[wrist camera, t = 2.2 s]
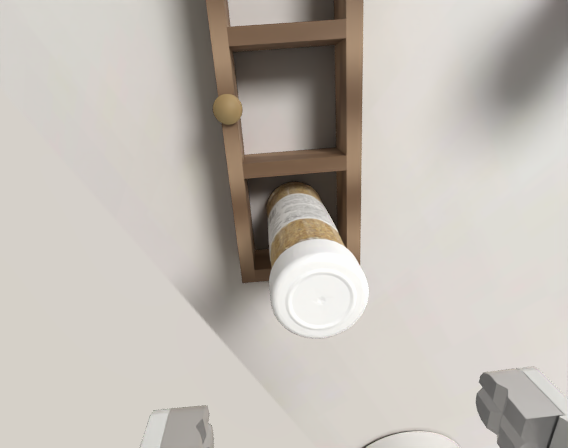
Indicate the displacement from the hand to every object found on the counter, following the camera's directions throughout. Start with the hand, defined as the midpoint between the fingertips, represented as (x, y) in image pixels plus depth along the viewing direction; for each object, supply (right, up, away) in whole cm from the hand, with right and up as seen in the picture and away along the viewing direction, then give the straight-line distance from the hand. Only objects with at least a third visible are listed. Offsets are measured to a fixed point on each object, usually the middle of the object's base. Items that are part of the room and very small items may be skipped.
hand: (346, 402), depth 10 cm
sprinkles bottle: (-1, +7, +18) cm, 19 cm away
